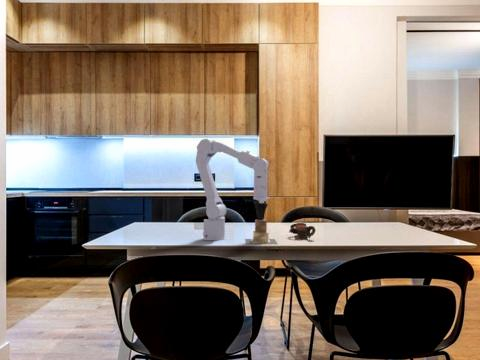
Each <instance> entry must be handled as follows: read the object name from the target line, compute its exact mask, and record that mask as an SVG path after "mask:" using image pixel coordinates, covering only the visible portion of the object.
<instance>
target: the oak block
mask: <svg viewBox="0 0 480 360" xmlns="http://www.w3.org/2000/svg"><path fill="white" fill-rule="evenodd" d="M252 235H253V237H252V239H253V241H254V242H268V239H269V232H268V230H267V232H255V230H253V234H252Z"/></svg>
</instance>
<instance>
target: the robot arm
mask: <svg viewBox="0 0 480 360" xmlns="http://www.w3.org/2000/svg"><path fill="white" fill-rule="evenodd" d="M196 150H197V151H196V155H195V156H196V157H195V164H196V167H197V170H198V174H199V176H200V181H201V184H202V187H203V189H204V194H205V197H206V202H205V206H206V210H205V212H206V216H207V217H208V219H207V218H206V219H203V231H202V232H203V233H202V236H203V239H202V240H203V241H226V238H227V237H226V236H225V234H226V233H225V232H226V230H225V229H226V227H225V225H226V222H225V221H226V217H225V216H226V215H227V211H228V210H227V207H226V205H225V204H224V203H223V200H222V198H221V197H220V195H219V194H218V190H217V187H216V184H215V183H216V182H215V180H214V177H213V173H212V170H211V166H210V164H209V163H210V161H211V160H212V158H213V157H214V156H215V155H216V154H217V153H224V154H226V155H228V156H231V157H233V158H234V159H237V162H238V163H239V164H241V165H243V166H245V167H248V168H250V169H252V170H253V173H254V174H253V175H254V176H253V197H252V199H253V200H256V201H253V205H254V207H255V212H256V213H255V214H256V219H258V220H264V219H265V215H266V214H265V213H266V210H267V208H268V205H269V203H267V200H271V197H270V196H268V170H269V168H270V164H269V161H268V160H267V159H265V158H263V157H262V158H260V156H259V155H258V154H257V155H255V154H254V153H251V151H250V150H241V151H239V150H237V149H235V148H233V147H231V146H229V145H228V144H226V143H223V142H220V141H216V140H212V139H208V138H203V139H201V140H200V141H199V142H198V144H197V146H196Z"/></svg>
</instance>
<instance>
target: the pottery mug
mask: <svg viewBox="0 0 480 360" xmlns="http://www.w3.org/2000/svg"><path fill="white" fill-rule="evenodd" d="M288 233H291V234H292V235H293V236H294V240H299V241H300V240H306V241H308V239H310V238H311V237H312V236H314V234H316V227H315V226H313V225H310V226H307V223H304V222H297V223H293V224H291V225H290V229H289V230H288Z"/></svg>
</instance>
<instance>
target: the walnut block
mask: <svg viewBox="0 0 480 360" xmlns="http://www.w3.org/2000/svg"><path fill="white" fill-rule="evenodd" d="M267 226H268V223H267V219H265V218H264V220H258V218H256V219H255V220H254V231H255V232H267V231H268V230H267V228H268V227H267Z"/></svg>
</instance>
